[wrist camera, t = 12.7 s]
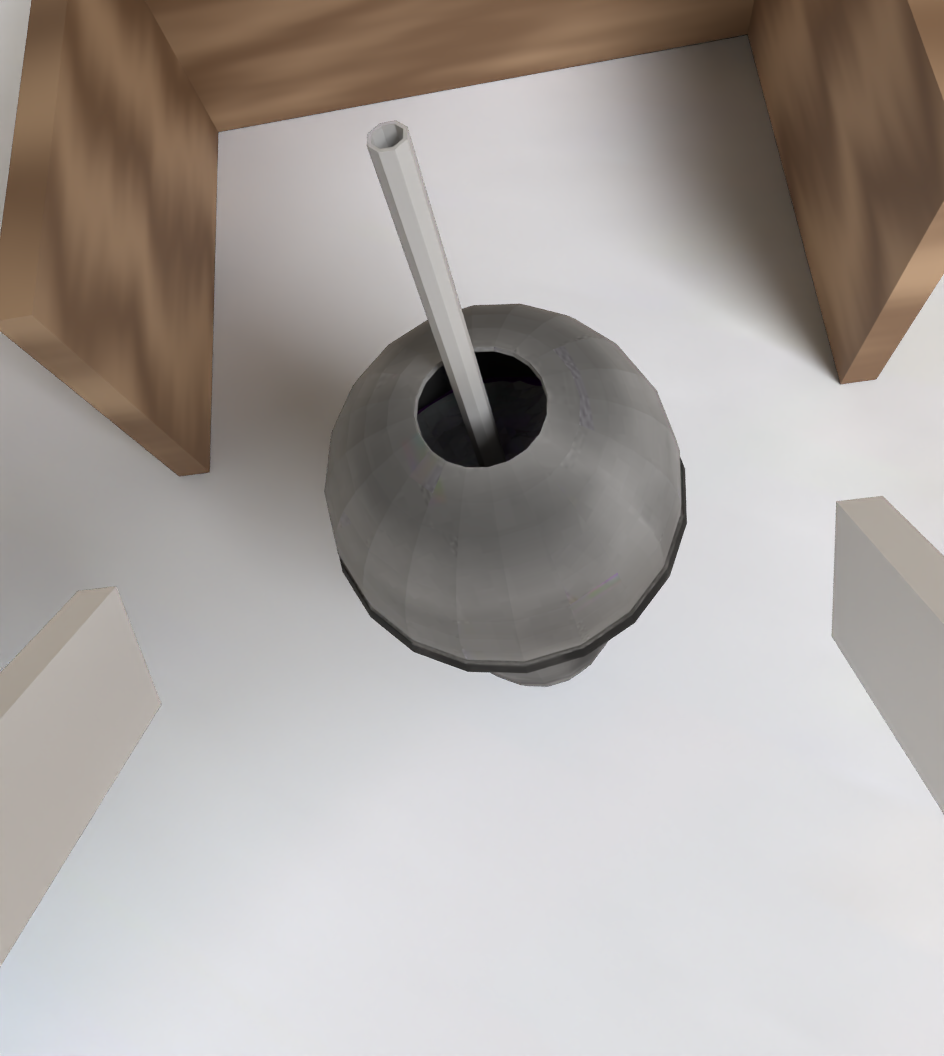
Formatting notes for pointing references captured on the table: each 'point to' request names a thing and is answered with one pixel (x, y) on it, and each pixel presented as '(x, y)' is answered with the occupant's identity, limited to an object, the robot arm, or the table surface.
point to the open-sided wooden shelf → (397, 72)
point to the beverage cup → (499, 472)
